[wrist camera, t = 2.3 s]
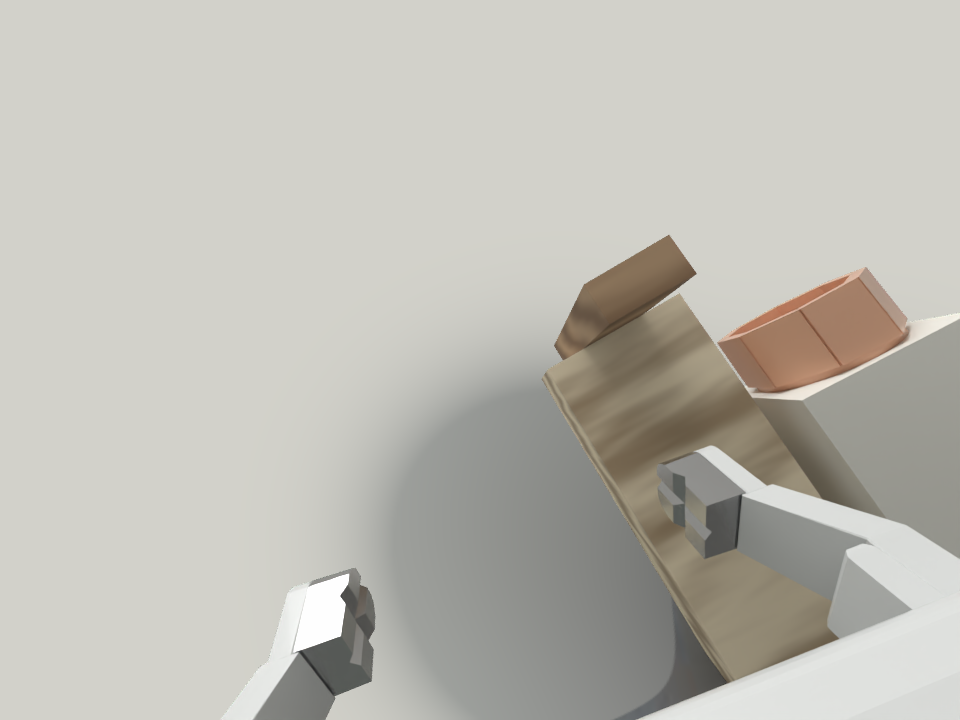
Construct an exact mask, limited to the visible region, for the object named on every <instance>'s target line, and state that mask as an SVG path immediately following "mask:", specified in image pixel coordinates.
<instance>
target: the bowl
mask: <svg viewBox="0 0 960 720" xmlns="http://www.w3.org/2000/svg"><path fill="white" fill-rule="evenodd" d="M906 322H907V317H906V316H905V315H904V314H903V313H902V311H901V310H900V309H899V308H898V306H897V305H896V304H895V303H894V301H893V300H892V299H891V298H890V296H889V295H888V294H887V293H886V291H885V290H884V289H883V288H882V286H881V285H880V284H879V283H878V281H877V280H876V279H875V278H874V276H873V275H872V274H871V273H870V271H869V270H868V269H867V268H866V267H865V268H862V269H859V270H857V271H854V272H851V273H849V274H846V275H844V276H841V277H839V278H836V279H833V280H831V281H828V282H826V283H824V284H822V285H819V286H817V287H815V288H813V289H811V290H809V291H807V292H805V293H803V294H801V295H799V296H797V297H795V298H793V299H790V300H788V301H786V302H785V303H782V304H780V305H778V306H776V307H774V308H772V309H770V310H769V311H767V312H765V313H763V314H762V315H760V316H758V317H756V318H754V319H752V320H751V321H749V322H747V323H745V324H743V325H742V326H740V327H738V328H736V329H735V330H733V331H731V332H730V333H729V334H728V335H726V336H725V337H724V338H722V339H721V340H720V341H719V342H718V344H719V346H720V348H721V349H722V351H723V352H724V353H725V355H726V356H727V358H728V359H729V361H730V362H731V363H732V365H733V366H734V368H735V369H736V371H737V372H738V374H739V375H740V376H741V378H742V379H743V381H744V382H745V383H746V385H747V386H748V388H757V389H758V391H760V392H762V393H774V392H781V391H786V390H791V389H795V388H799V387H803V386H806V385H809V384H813V383H816V382H819V381H822V380H825V379H827V378H830V377H833V376H836V375H838V374H841V373H843V372H846V371H848V370H850V369H853V368H855V367H857V366H860V365H862V364H864V363H866V362H868V361H870V360H872V359H874V358H876V357H878V356H880V355H882V354H884V353H885V352H887V351H889V350H890V349H892V348H894V347H895V346H897V345H898V344H899V343H901V342H902V341H903V340H904V339H905V338H906V337H907V336H908V334H909V332H908V330H907V329H906V327H905V326H906Z"/></svg>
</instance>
